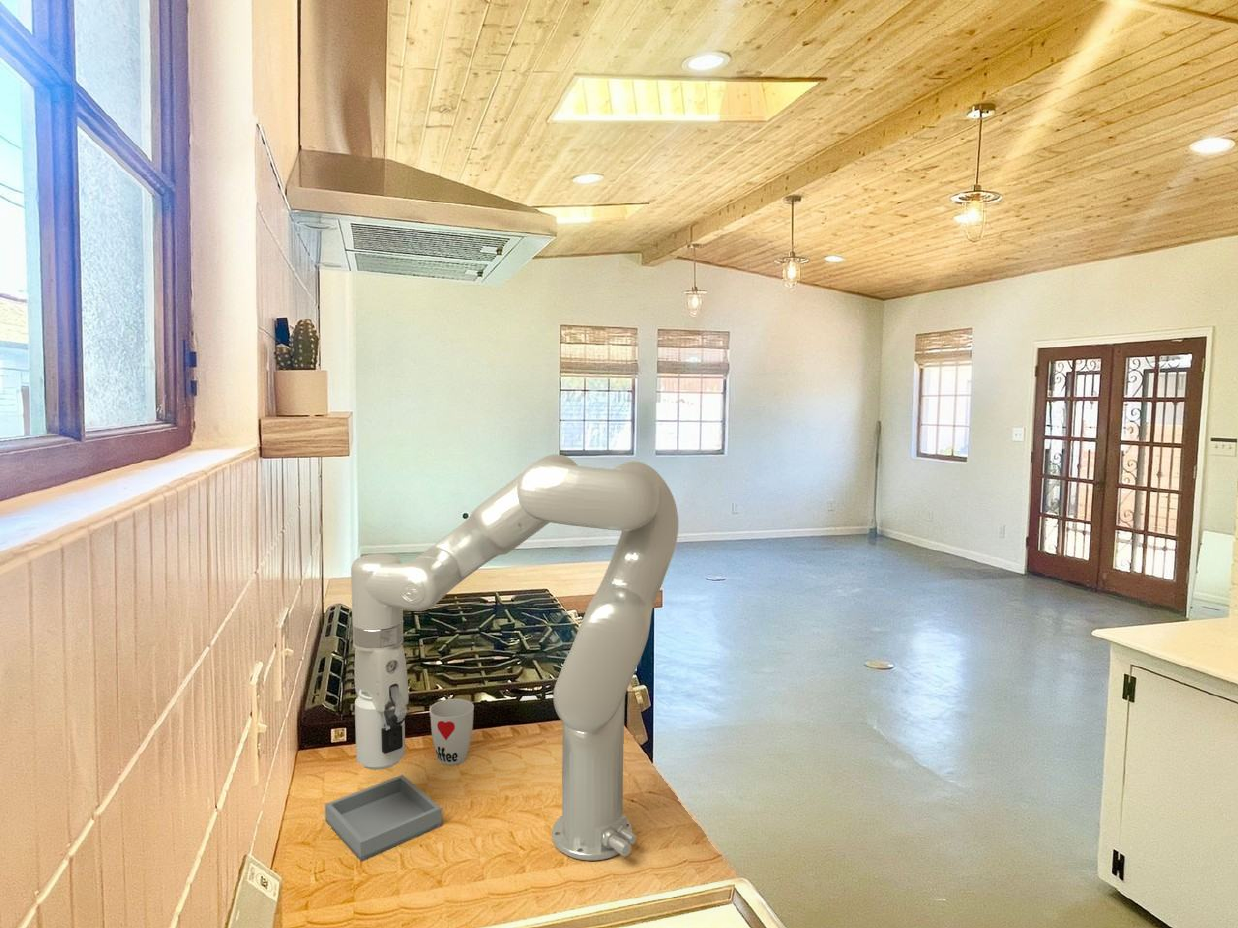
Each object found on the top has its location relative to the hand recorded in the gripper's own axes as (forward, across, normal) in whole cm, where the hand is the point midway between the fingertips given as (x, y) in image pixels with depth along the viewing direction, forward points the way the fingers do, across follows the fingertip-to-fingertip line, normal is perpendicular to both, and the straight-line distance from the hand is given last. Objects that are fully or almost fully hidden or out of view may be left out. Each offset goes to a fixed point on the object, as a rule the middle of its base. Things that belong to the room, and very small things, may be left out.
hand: (380, 739), depth 120 cm
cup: (+14, +11, -19) cm, 26 cm away
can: (+4, 0, 0) cm, 4 cm away
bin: (+14, 0, 0) cm, 14 cm away
